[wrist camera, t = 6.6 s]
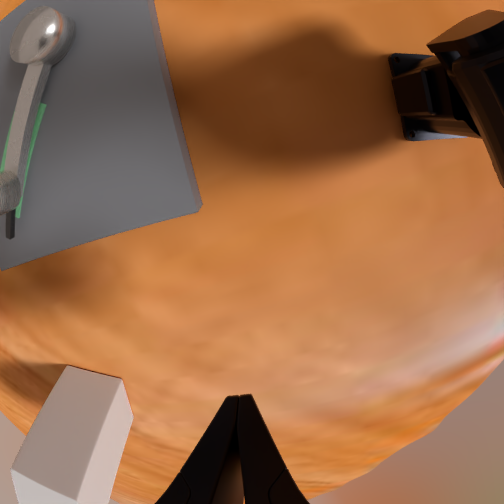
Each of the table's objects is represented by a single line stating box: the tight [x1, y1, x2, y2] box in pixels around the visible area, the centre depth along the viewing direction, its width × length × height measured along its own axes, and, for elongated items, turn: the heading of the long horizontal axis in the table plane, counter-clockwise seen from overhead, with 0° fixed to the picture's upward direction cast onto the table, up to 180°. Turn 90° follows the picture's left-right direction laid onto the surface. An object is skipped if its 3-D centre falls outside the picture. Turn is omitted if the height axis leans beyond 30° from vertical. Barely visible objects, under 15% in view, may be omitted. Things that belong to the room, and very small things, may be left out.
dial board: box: [0, 0, 203, 271], centre depth 15 cm, size 20×22×2 cm
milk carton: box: [11, 365, 134, 504], centre depth 19 cm, size 7×7×19 cm
